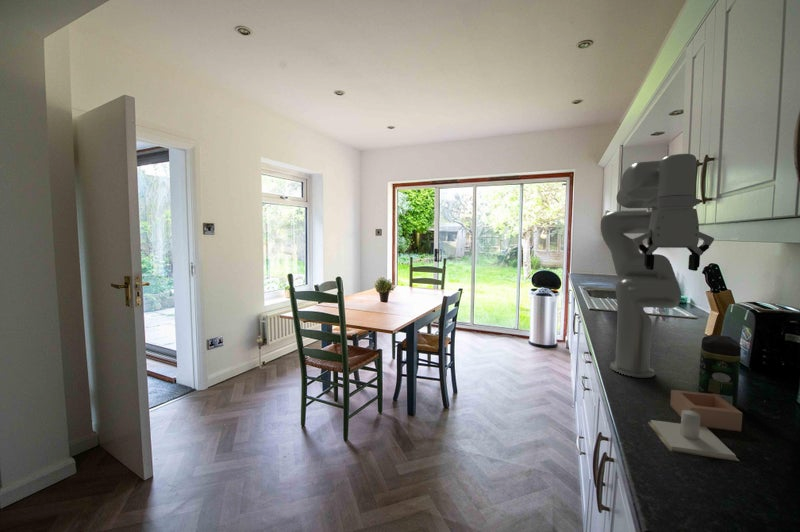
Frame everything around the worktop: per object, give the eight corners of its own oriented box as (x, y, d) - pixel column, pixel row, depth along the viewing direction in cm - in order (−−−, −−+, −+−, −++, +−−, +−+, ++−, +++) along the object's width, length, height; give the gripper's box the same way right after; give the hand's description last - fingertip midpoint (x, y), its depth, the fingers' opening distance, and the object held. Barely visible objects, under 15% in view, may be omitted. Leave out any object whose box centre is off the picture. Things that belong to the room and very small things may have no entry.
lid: (650, 423, 84) (651, 399, 84) (705, 430, 81) (707, 405, 81) (671, 449, 74) (673, 422, 73) (735, 459, 71) (737, 430, 70)
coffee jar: (696, 393, 101) (701, 330, 100) (734, 401, 96) (739, 335, 95) (697, 406, 94) (702, 338, 92) (738, 415, 89) (744, 344, 87)
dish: (670, 407, 93) (671, 389, 92) (715, 412, 90) (717, 394, 90) (689, 427, 83) (690, 407, 83) (740, 434, 81) (742, 413, 80)
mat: (647, 424, 85) (647, 421, 85) (706, 431, 82) (706, 429, 82) (669, 453, 74) (669, 450, 73) (739, 463, 70) (740, 461, 70)
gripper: (707, 204, 92) (702, 269, 93) (631, 206, 96) (628, 268, 98) (724, 201, 84) (719, 272, 86) (641, 203, 89) (638, 270, 91)
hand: (670, 269), depth 92 cm, fingers open, 9 cm apart
